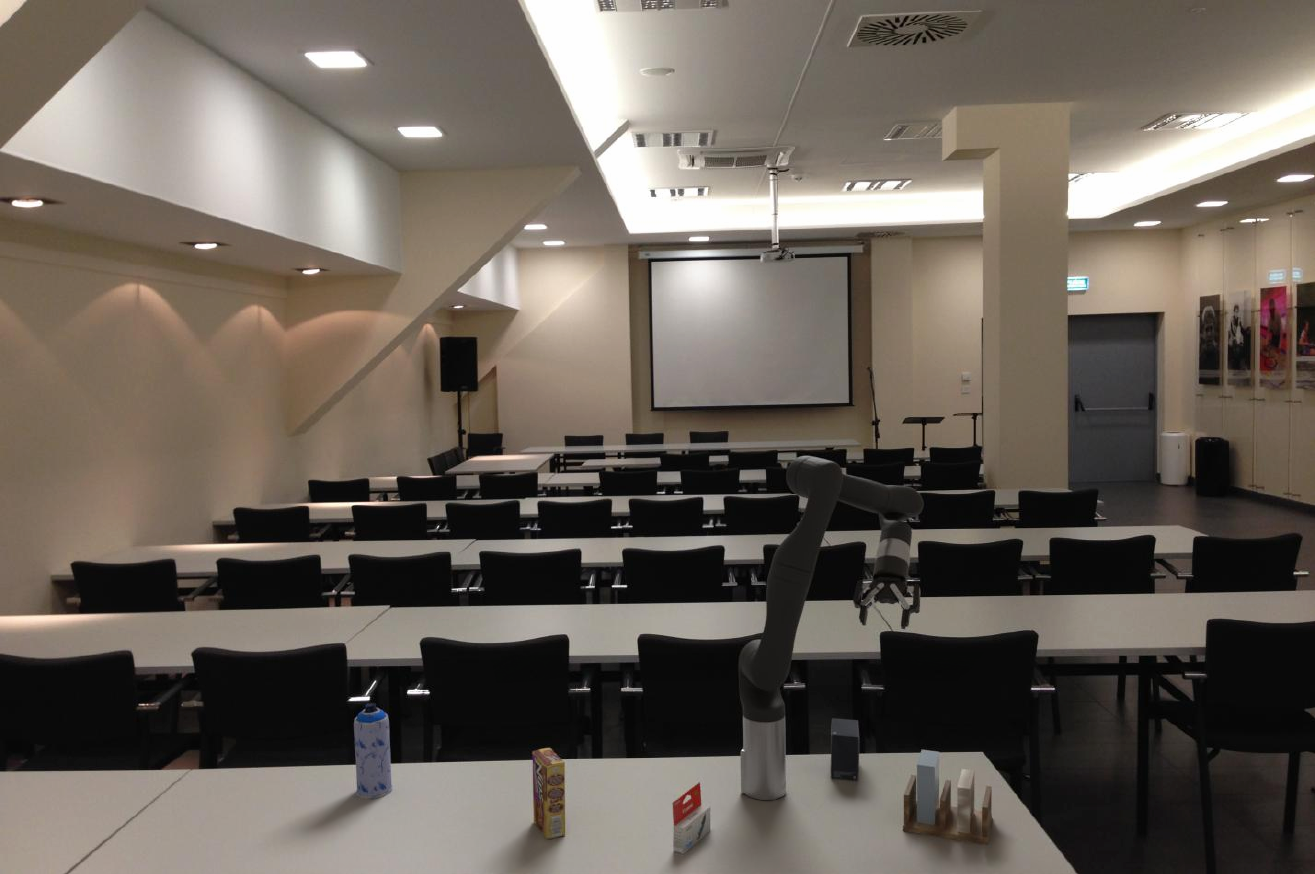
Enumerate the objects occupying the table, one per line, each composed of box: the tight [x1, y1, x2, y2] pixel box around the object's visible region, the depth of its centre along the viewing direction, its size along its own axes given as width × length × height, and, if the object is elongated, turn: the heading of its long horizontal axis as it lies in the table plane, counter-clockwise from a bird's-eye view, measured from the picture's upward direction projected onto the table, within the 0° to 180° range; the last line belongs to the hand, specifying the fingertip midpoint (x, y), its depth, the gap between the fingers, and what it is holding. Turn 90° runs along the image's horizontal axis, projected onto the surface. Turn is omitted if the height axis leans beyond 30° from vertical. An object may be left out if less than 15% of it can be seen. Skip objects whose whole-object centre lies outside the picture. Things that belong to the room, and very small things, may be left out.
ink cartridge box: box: [672, 781, 711, 854], centre depth 189 cm, size 2×11×10 cm, turn 148°
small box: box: [830, 717, 860, 781], centre depth 220 cm, size 11×6×10 cm, turn 169°
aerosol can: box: [353, 702, 393, 800], centre depth 214 cm, size 8×8×20 cm
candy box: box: [532, 747, 566, 840], centre depth 195 cm, size 9×4×15 cm, turn 26°
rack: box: [902, 768, 993, 846], centre depth 193 cm, size 16×12×10 cm
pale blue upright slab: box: [916, 749, 940, 825], centre depth 195 cm, size 4×8×12 cm, turn 158°
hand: (883, 625), depth 208 cm, fingers open, 8 cm apart
